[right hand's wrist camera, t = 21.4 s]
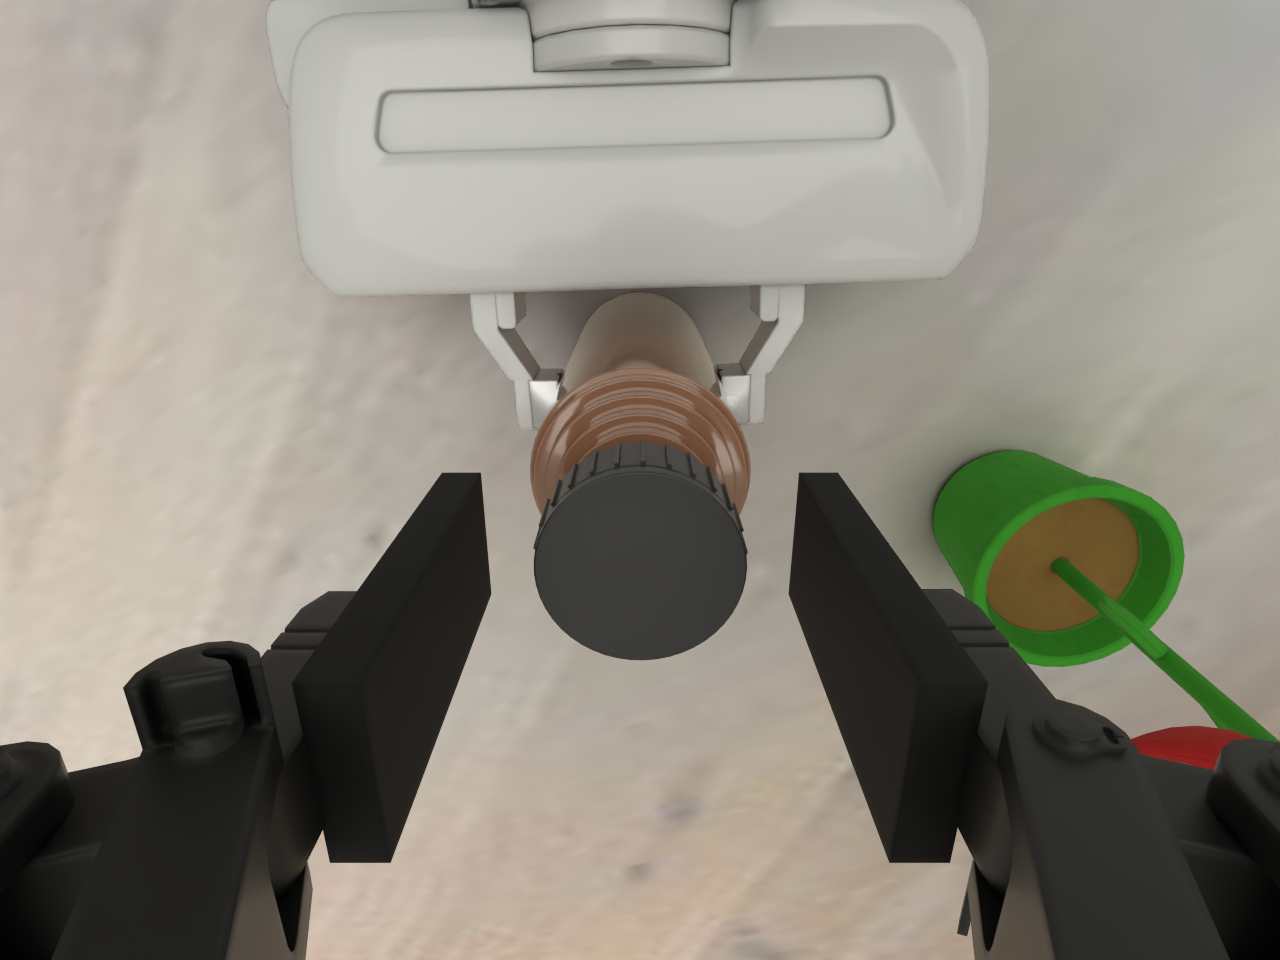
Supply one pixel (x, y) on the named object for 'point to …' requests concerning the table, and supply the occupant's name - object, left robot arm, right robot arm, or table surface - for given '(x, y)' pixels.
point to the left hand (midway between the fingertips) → (642, 422)
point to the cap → (640, 552)
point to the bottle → (640, 396)
